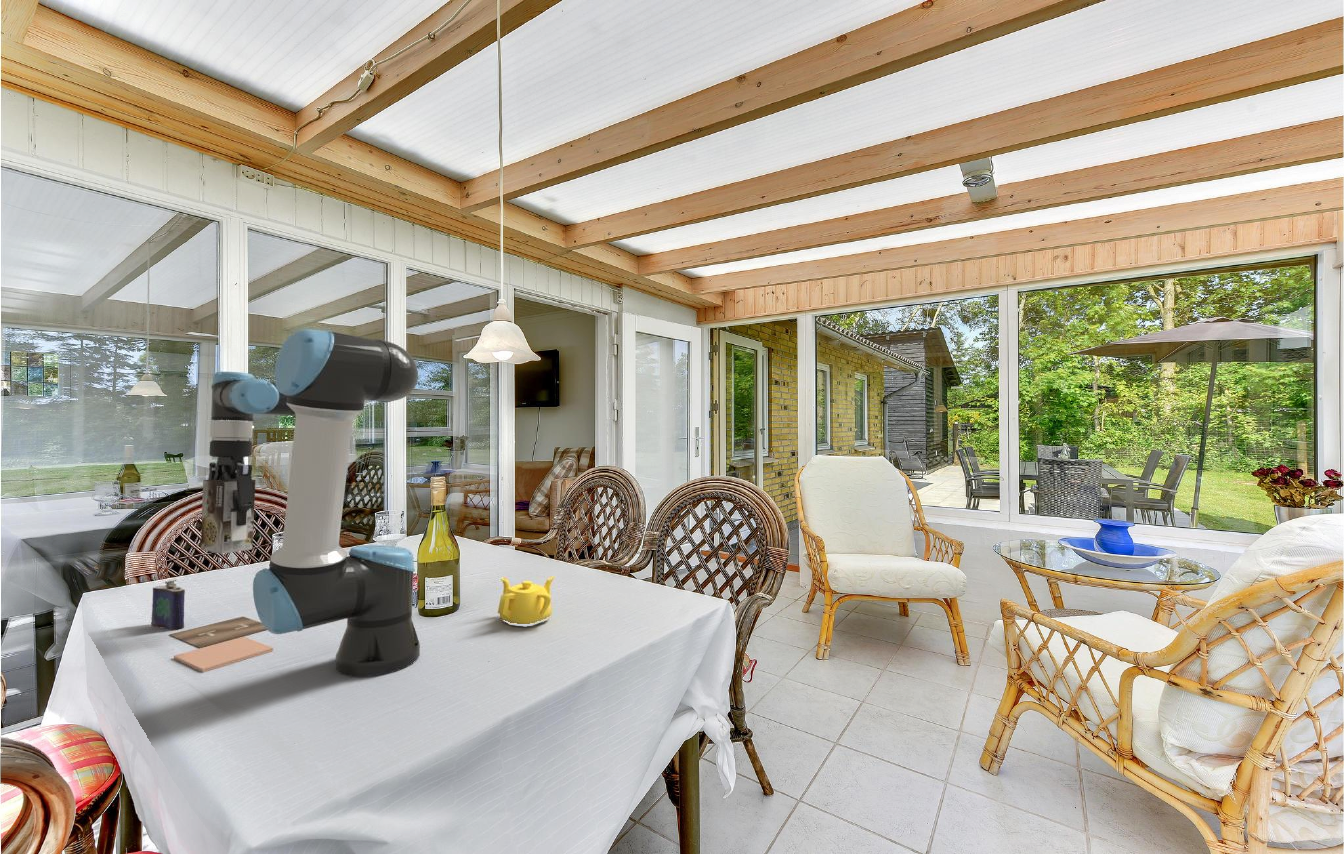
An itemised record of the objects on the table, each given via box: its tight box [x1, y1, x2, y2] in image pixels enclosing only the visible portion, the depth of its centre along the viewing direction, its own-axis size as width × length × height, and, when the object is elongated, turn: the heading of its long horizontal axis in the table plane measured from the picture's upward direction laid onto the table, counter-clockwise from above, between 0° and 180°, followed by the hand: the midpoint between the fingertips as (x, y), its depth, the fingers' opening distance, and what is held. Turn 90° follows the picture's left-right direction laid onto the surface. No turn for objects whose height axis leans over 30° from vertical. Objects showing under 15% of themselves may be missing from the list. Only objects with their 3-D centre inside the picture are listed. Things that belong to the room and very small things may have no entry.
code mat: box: [169, 616, 268, 649], centre depth 122 cm, size 14×14×1 cm
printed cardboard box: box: [200, 479, 257, 555], centre depth 123 cm, size 9×6×16 cm
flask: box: [150, 579, 186, 631], centre depth 125 cm, size 9×3×11 cm, turn 71°
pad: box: [173, 636, 274, 673], centre depth 110 cm, size 12×12×1 cm
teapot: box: [497, 575, 556, 624], centre depth 135 cm, size 14×13×10 cm
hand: (227, 537), depth 123 cm, fingers closed on printed cardboard box, 9 cm apart
